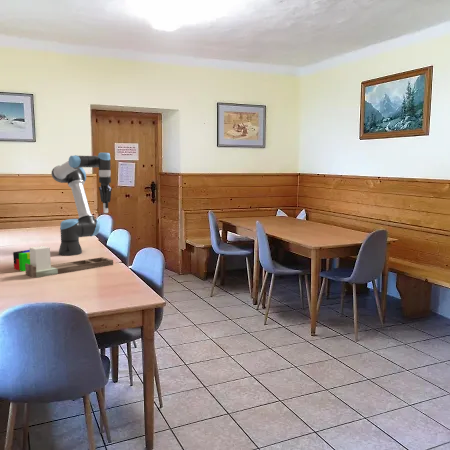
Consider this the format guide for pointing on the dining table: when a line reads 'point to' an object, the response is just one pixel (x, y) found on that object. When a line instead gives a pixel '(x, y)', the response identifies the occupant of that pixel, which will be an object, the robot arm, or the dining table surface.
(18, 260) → the puzzle toy
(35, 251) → the block
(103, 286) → the dining table surface
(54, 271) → the trap box
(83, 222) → the robot arm
